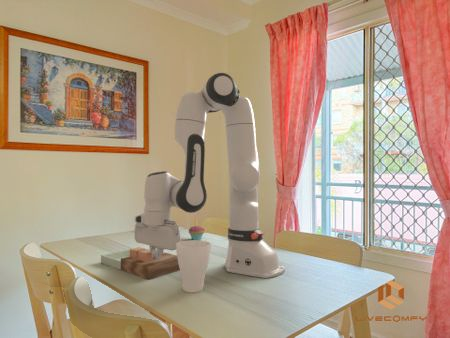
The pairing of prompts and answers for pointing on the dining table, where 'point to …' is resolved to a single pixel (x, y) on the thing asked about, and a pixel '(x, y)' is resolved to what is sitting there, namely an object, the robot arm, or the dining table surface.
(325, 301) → the dining table surface
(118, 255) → the tray
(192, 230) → the cupcake
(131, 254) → the tile
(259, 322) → the dining table surface
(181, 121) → the robot arm
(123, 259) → the board
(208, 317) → the dining table surface
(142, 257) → the tile
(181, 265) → the cup
